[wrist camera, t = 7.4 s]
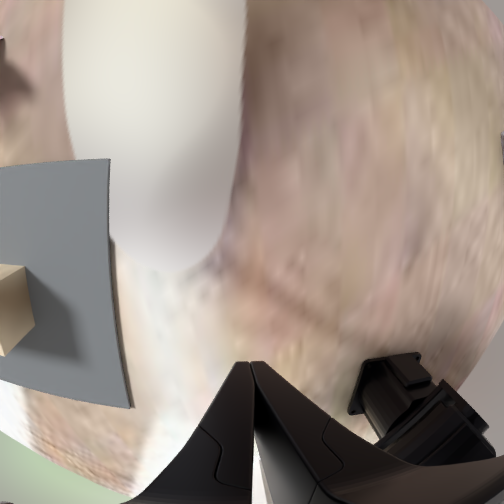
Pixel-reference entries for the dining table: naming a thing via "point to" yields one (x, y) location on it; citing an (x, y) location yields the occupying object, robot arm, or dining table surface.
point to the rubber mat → (63, 280)
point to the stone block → (503, 142)
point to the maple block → (14, 307)
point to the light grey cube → (260, 485)
